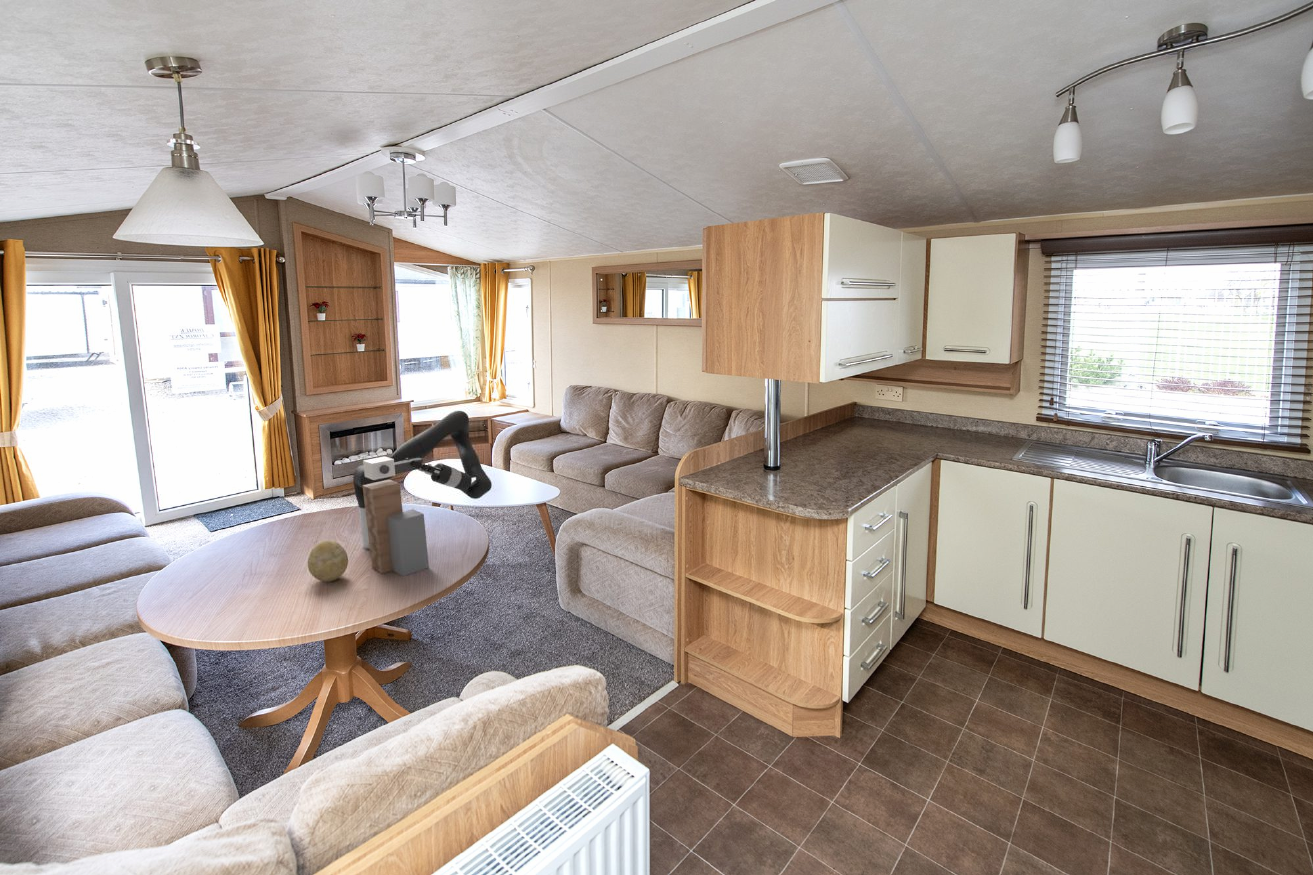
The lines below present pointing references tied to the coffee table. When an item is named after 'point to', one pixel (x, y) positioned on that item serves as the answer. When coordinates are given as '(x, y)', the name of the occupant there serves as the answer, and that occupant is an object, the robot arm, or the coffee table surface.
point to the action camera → (386, 467)
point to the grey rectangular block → (408, 542)
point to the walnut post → (381, 520)
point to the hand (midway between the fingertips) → (408, 461)
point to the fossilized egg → (327, 561)
